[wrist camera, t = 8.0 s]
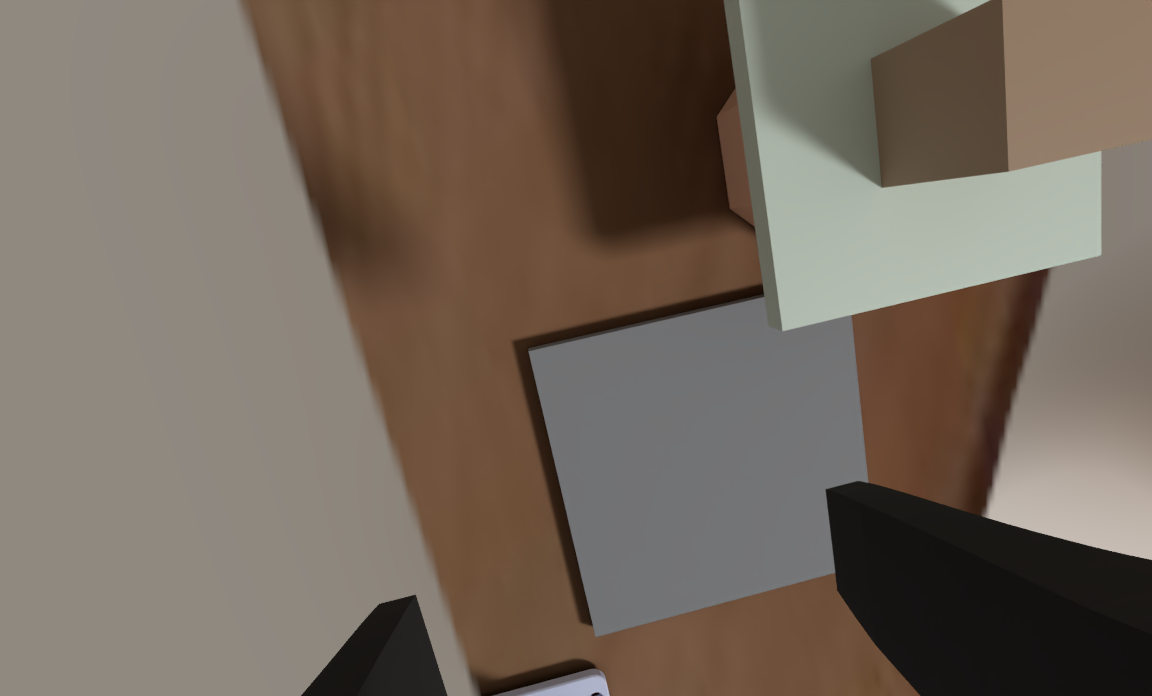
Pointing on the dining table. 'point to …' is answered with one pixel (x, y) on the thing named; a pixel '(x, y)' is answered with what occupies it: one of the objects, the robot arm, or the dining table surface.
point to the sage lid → (929, 140)
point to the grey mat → (700, 455)
